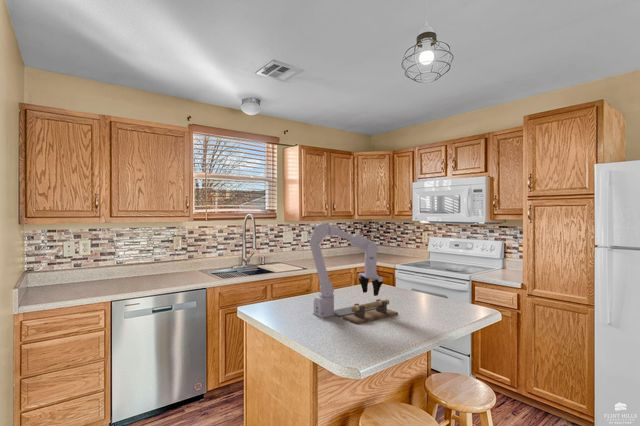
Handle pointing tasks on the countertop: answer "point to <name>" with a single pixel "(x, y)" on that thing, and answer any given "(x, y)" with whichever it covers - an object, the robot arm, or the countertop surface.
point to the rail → (369, 305)
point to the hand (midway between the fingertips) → (370, 294)
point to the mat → (347, 311)
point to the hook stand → (370, 314)
